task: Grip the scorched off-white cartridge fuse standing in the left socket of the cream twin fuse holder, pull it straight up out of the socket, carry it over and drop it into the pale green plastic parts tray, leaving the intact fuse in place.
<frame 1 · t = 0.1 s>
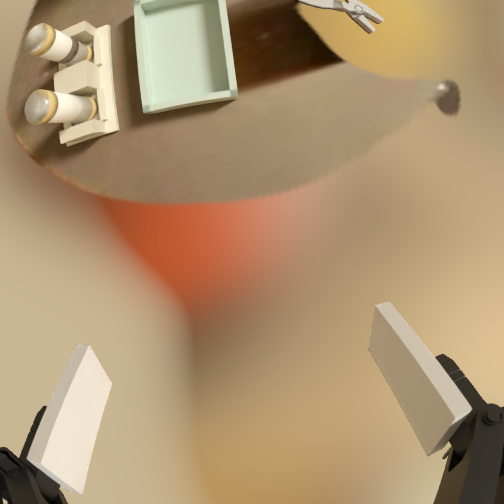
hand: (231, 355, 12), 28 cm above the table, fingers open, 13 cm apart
fuse holder: (86, 83, 29), on the table
parts tray: (185, 49, 29), on the table
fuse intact: (86, 110, 30), point 1 cm above the table, touching fuse holder
fuse blown: (82, 57, 26), point 1 cm above the table, touching fuse holder
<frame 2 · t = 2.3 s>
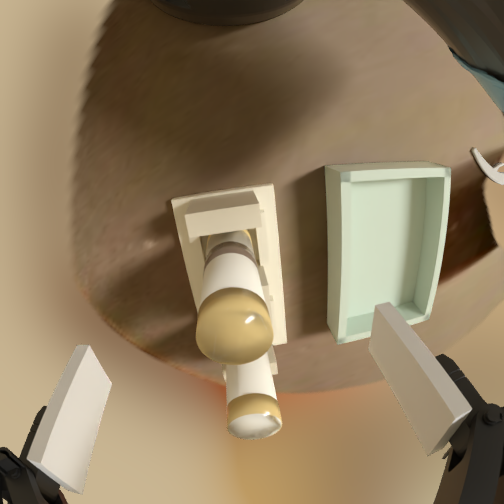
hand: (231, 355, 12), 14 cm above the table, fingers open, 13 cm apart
fuse holder: (235, 278, 26), on the table
parts tray: (380, 245, 26), on the table
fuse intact: (242, 318, 27), point 1 cm above the table, touching fuse holder
fuse blown: (229, 240, 24), point 1 cm above the table, touching fuse holder
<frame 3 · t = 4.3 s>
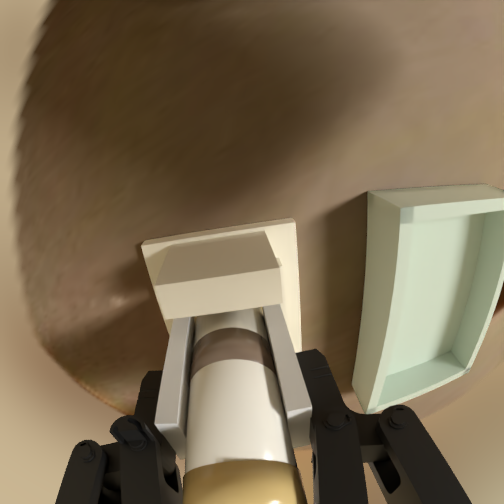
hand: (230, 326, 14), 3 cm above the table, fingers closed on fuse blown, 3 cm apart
fuse holder: (238, 344, 18), on the table
parts tray: (425, 293, 19), on the table
fuse blown: (228, 301, 16), point 1 cm above the table, touching fuse holder, gripper
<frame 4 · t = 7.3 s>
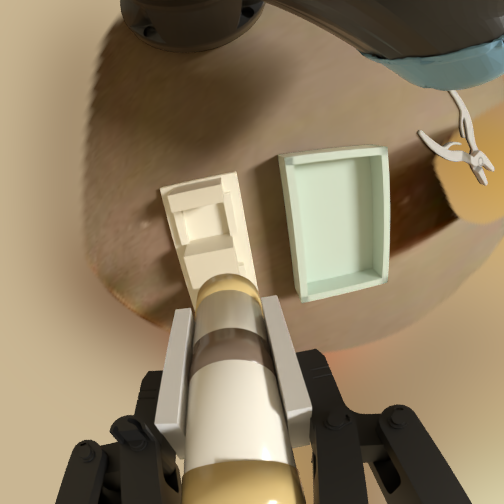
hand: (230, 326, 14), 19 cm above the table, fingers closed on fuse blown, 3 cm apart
pliers: (460, 142, 30), on the table
fuse holder: (213, 248, 32), on the table
parts tray: (334, 218, 32), on the table
fuse blown: (228, 301, 16), point 16 cm above the table, touching gripper
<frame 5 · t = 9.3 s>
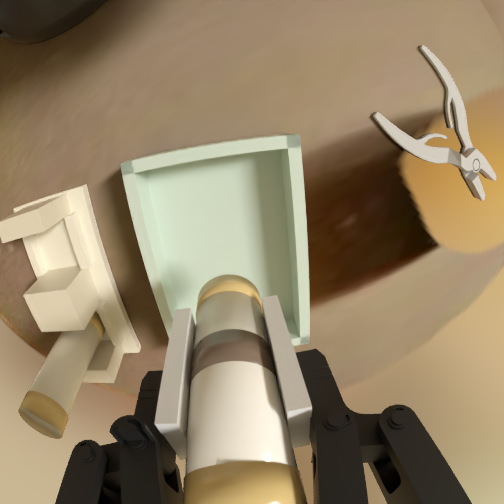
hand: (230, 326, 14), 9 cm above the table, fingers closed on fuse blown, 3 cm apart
pliers: (446, 136, 21), on the table
fuse holder: (76, 281, 22), on the table
parts tray: (226, 247, 22), on the table
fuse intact: (88, 322, 23), point 1 cm above the table, touching fuse holder
fuse blown: (229, 302, 16), point 7 cm above the table, touching gripper
when the fingers open (5 cm above the table, at t = 10.6 s): fuse blown drops 2 cm, resting on parts tray.
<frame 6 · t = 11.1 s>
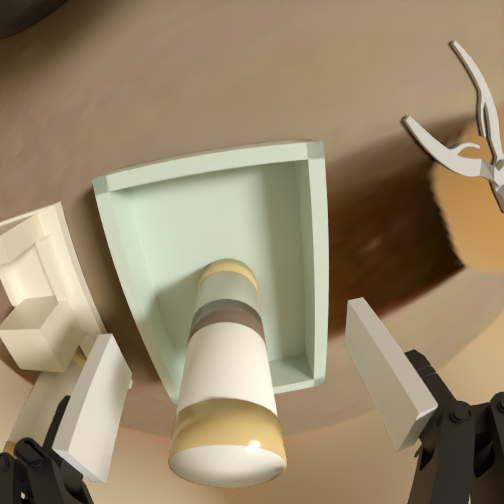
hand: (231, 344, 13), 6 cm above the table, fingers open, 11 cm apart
pliers: (478, 145, 17), on the table
fuse holder: (56, 310, 18), on the table
parts tray: (227, 277, 19), on the table
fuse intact: (73, 355, 19), point 1 cm above the table, touching fuse holder
fuse blown: (227, 284, 18), point 1 cm above the table, touching parts tray
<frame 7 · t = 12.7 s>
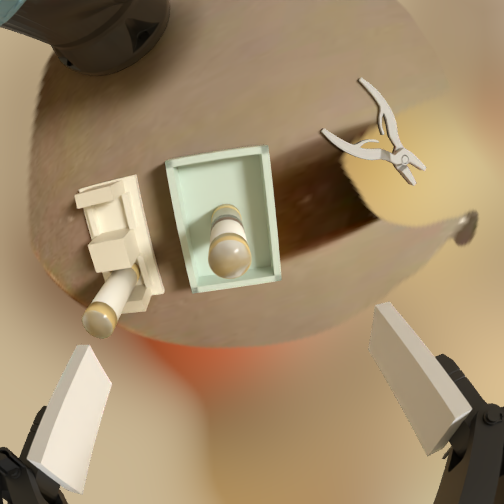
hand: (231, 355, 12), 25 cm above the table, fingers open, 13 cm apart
pliers: (380, 140, 34), on the table
fuse holder: (121, 240, 35), on the table
parts tray: (226, 215, 35), on the table
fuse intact: (128, 271, 36), point 1 cm above the table, touching fuse holder
fuse blown: (226, 217, 34), point 1 cm above the table, touching parts tray
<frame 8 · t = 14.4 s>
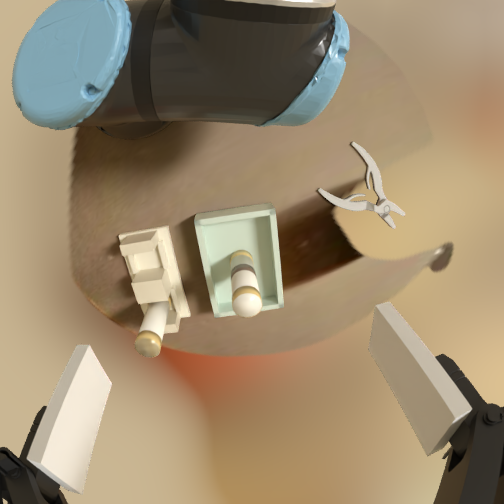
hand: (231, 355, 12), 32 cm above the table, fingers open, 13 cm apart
pliers: (367, 193, 43), on the table
fuse holder: (155, 276, 45), on the table
parts tray: (240, 257, 45), on the table
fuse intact: (161, 299, 46), point 1 cm above the table, touching fuse holder
fuse blown: (241, 260, 44), point 1 cm above the table, touching parts tray
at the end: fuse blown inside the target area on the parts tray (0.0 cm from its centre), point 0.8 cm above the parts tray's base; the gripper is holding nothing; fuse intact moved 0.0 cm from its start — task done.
